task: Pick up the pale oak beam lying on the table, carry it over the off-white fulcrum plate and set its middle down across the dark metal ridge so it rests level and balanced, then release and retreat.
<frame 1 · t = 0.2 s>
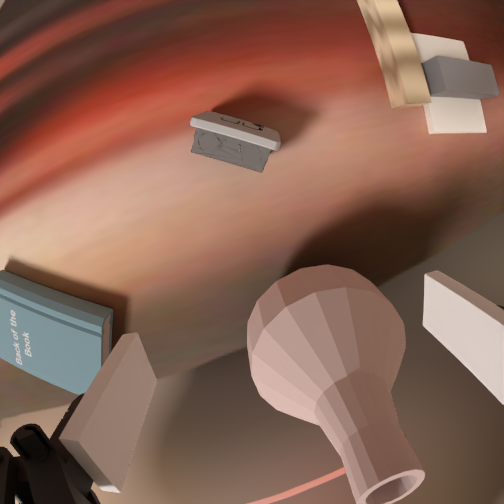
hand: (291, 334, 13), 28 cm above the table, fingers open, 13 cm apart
electrical switch: (238, 141, 37), on the table
vase: (308, 309, 43), on the table
fulcrum: (446, 84, 35), on the table
beam: (380, 34, 33), on the table
book: (54, 328, 43), on the table
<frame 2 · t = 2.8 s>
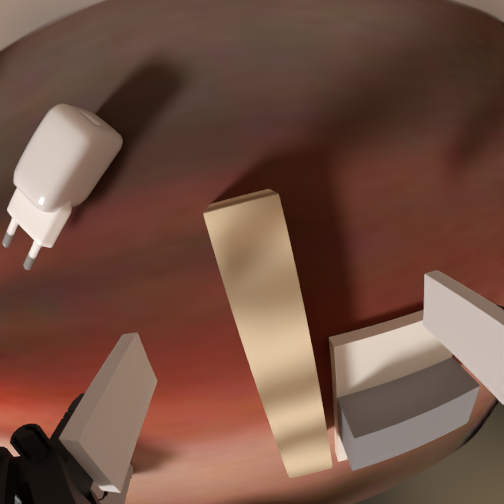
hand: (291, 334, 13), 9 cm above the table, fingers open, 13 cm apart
electrical switch: (99, 460, 27), on the table
fulcrum: (391, 387, 25), on the table
beam: (278, 346, 24), on the table
power adapter: (71, 187, 20), on the table
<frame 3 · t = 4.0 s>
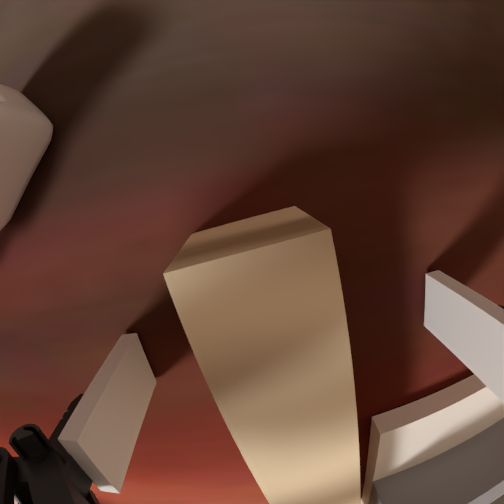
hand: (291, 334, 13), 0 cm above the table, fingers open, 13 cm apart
fulcrum: (434, 454, 17), on the table
beam: (301, 431, 15), on the table
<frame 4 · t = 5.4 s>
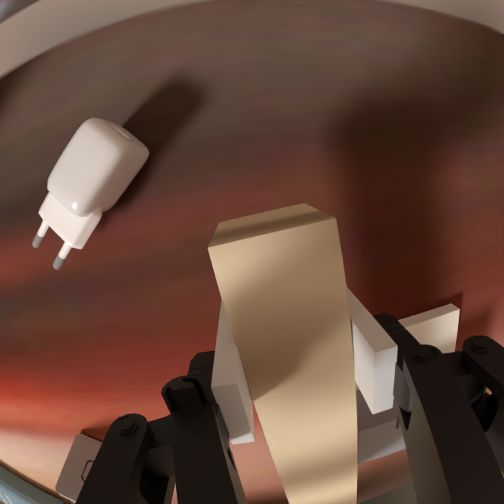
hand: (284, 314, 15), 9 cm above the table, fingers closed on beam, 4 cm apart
electrical switch: (114, 455, 29), on the table
fulcrum: (396, 386, 27), on the table
beam: (303, 407, 17), point 8 cm above the table, touching gripper
power adapter: (99, 194, 22), on the table
book: (26, 489, 35), on the table
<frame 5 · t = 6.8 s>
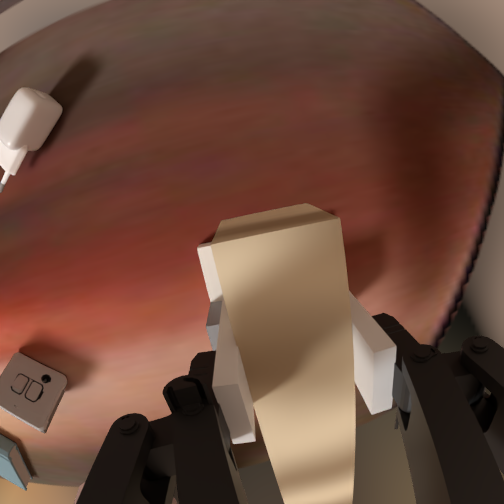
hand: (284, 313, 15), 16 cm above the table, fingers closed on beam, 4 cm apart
electrical switch: (44, 376, 34), on the table
fulcrum: (274, 307, 32), on the table
beam: (301, 408, 17), point 15 cm above the table, touching gripper
power adapter: (33, 142, 26), on the table
when the fingers open (8 cm above the table, at t = 8.7 s): beam drops 1 cm, resting on fulcrum.
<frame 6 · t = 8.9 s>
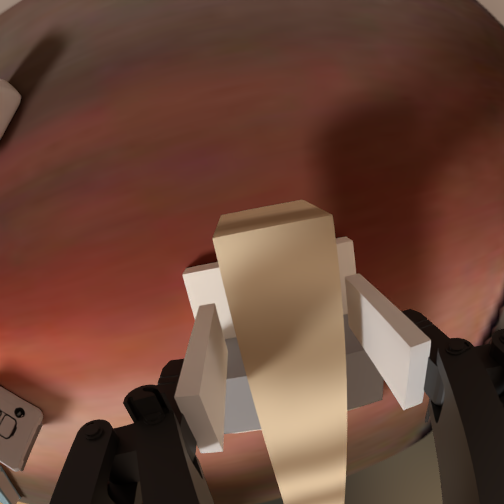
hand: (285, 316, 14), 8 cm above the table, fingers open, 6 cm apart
electrical switch: (20, 407, 26), on the table
fulcrum: (283, 345, 24), on the table
beam: (295, 397, 18), point 7 cm above the table, touching fulcrum
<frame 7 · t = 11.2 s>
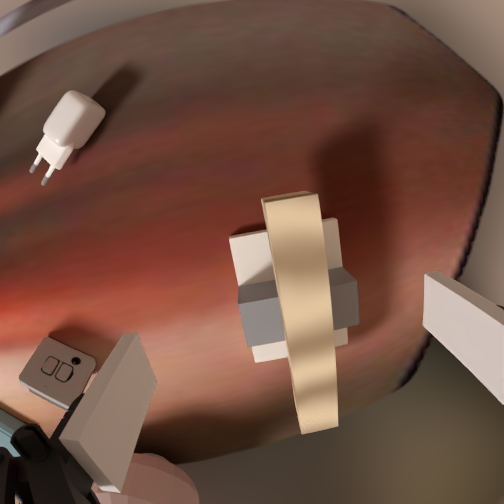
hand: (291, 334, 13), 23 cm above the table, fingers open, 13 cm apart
electrical switch: (72, 359, 39), on the table
vase: (154, 462, 44), on the table
fulcrum: (292, 292, 37), on the table
beam: (301, 315, 30), point 6 cm above the table, touching fulcrum
power adapter: (75, 141, 32), on the table
book: (3, 424, 44), on the table
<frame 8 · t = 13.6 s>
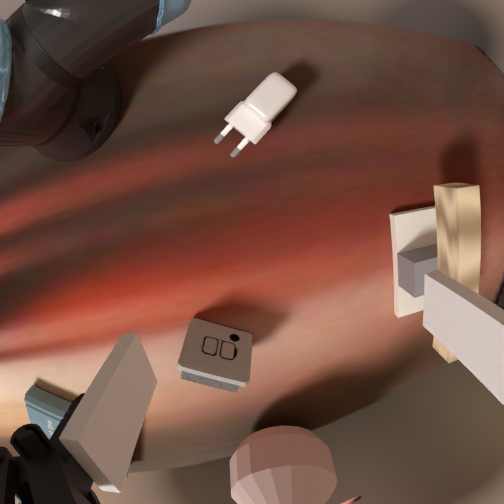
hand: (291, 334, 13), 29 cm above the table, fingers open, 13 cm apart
electrical switch: (219, 339, 45), on the table
vase: (276, 437, 51), on the table
fulcrum: (425, 258, 43), on the table
beam: (448, 270, 36), point 6 cm above the table, touching fulcrum
power adapter: (253, 119, 37), on the table
book: (83, 426, 50), on the table
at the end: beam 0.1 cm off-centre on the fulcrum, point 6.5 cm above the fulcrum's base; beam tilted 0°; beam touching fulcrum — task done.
